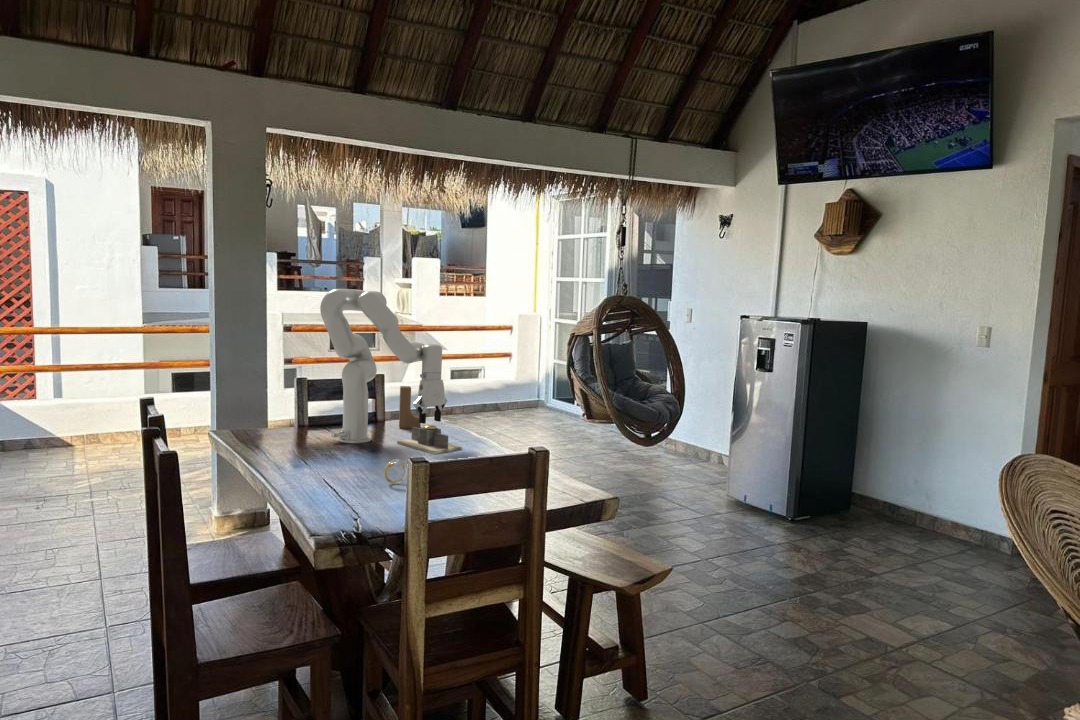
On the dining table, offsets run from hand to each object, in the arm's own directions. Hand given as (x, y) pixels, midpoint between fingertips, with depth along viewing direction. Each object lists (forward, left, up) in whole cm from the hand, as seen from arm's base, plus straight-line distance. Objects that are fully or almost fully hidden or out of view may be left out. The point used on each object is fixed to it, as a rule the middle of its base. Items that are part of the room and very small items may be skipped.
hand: (429, 421), depth 280 cm
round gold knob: (0, 0, -8) cm, 8 cm away
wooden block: (+16, +33, -10) cm, 38 cm away
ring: (-42, -35, -10) cm, 56 cm away
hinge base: (0, 0, -10) cm, 10 cm away
